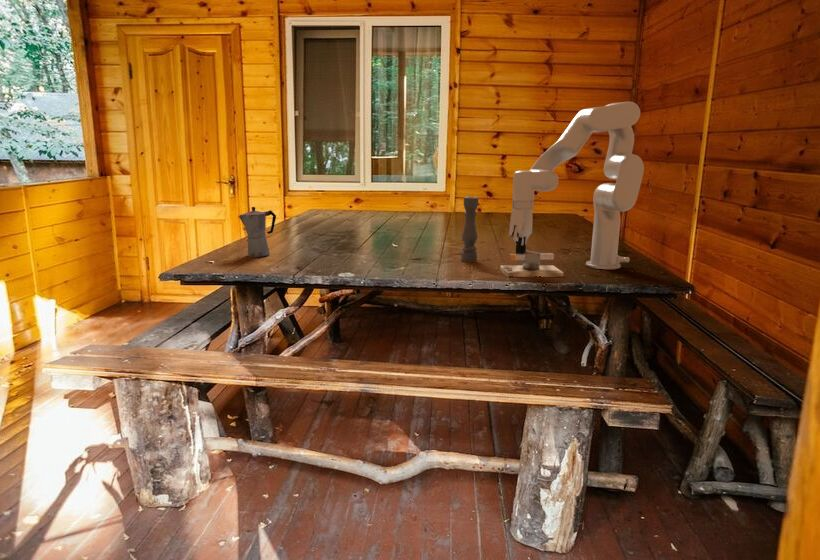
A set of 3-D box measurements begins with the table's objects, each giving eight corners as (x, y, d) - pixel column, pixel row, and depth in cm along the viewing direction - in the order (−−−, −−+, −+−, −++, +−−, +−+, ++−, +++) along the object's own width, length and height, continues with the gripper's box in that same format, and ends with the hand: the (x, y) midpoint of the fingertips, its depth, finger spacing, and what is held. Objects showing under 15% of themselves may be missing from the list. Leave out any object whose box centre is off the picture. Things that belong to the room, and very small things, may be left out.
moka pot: (236, 255, 230) (233, 206, 226) (272, 251, 239) (270, 204, 235) (245, 259, 223) (242, 208, 218) (281, 255, 232) (279, 206, 227)
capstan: (548, 266, 208) (549, 250, 206) (555, 269, 202) (556, 253, 200) (506, 267, 205) (507, 251, 204) (512, 270, 199) (512, 254, 198)
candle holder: (463, 262, 222) (465, 198, 216) (459, 259, 227) (461, 196, 222) (478, 261, 223) (481, 198, 217) (473, 258, 229) (476, 196, 223)
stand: (552, 269, 210) (553, 264, 210) (563, 276, 198) (563, 271, 198) (499, 269, 209) (500, 264, 209) (507, 276, 197) (507, 271, 197)
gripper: (522, 203, 211) (520, 251, 215) (503, 206, 199) (501, 257, 203) (541, 204, 206) (538, 253, 211) (523, 207, 195) (520, 259, 199)
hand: (520, 255), depth 207 cm, fingers closed
